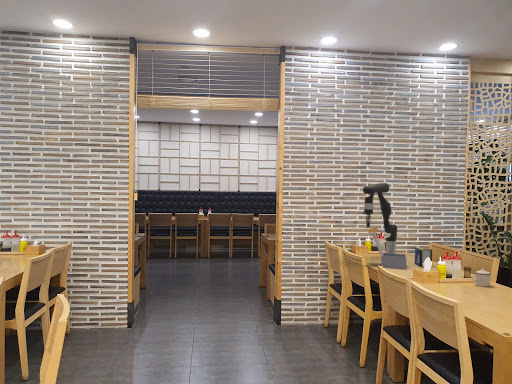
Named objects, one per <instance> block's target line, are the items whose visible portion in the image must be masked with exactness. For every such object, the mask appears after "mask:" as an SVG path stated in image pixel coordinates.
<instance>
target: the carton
mask: <svg viewBox="0 0 512 384" xmlns="http://www.w3.org/2000/svg"><path fill="white" fill-rule="evenodd" d="M407 255H408V254H406V253H405V254H404V253H396V254H395V253H386V252H383V253H382V255H381V256H380V257H381V258H380V259H381V261H380V262H381V263H380V264H381V265H380V266H383V267H384V269H385V268H386V269H399V270H407V262H408V261H407V258H408V257H407ZM383 267H382V268H383Z"/></svg>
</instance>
